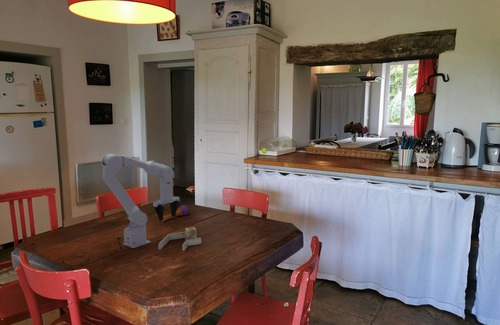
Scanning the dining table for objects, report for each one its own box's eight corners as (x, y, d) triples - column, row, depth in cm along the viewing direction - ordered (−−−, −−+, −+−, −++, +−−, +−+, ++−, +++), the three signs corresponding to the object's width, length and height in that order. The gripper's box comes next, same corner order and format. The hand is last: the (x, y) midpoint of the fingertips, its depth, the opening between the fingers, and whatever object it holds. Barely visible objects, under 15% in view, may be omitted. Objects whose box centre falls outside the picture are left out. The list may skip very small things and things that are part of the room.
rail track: (174, 255, 155) (173, 248, 154) (149, 246, 165) (149, 240, 164) (210, 240, 172) (210, 234, 172) (186, 233, 182) (185, 227, 182)
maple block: (187, 243, 169) (187, 230, 168) (185, 240, 173) (185, 227, 172) (196, 241, 170) (196, 229, 170) (194, 238, 174) (194, 226, 174)
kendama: (156, 214, 202) (182, 204, 217) (159, 224, 202) (184, 213, 218) (163, 214, 198) (189, 203, 214) (166, 224, 199) (191, 213, 214)
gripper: (159, 194, 166) (160, 223, 167) (183, 189, 177) (184, 216, 179) (149, 192, 170) (150, 220, 172) (173, 187, 181) (174, 213, 183)
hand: (167, 218), depth 176 cm, fingers open, 7 cm apart
